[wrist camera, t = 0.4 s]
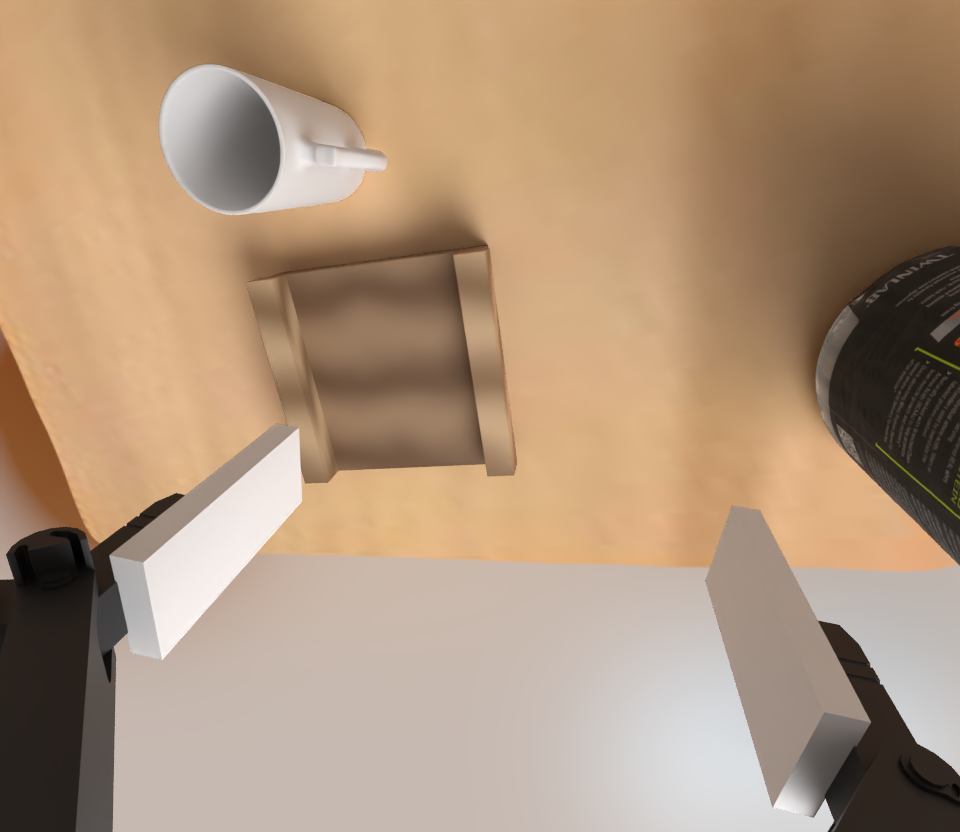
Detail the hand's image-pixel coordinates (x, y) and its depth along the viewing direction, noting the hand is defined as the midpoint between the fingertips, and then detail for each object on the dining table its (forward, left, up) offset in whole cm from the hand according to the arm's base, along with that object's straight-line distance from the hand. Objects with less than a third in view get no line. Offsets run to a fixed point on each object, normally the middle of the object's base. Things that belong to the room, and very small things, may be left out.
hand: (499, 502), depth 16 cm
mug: (-12, -13, -26) cm, 31 cm away
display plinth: (+3, -12, -25) cm, 28 cm away
